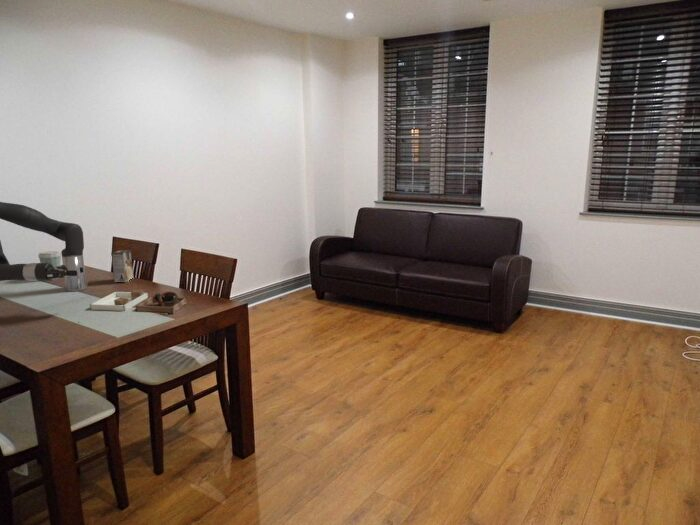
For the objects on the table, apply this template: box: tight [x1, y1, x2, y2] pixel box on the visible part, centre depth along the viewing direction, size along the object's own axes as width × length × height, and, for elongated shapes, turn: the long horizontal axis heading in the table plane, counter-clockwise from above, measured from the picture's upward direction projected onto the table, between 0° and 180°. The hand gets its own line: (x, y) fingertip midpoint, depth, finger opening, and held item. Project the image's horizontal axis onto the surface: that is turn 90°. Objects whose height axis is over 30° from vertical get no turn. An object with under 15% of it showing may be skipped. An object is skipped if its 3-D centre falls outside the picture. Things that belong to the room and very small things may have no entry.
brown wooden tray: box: [135, 296, 188, 314], centre depth 224 cm, size 15×17×3 cm
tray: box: [89, 291, 149, 312], centre depth 228 cm, size 20×16×3 cm
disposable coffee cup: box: [38, 250, 62, 281], centre depth 271 cm, size 11×11×15 cm
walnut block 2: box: [130, 289, 144, 300], centre depth 234 cm, size 4×4×4 cm
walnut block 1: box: [114, 298, 129, 305], centre depth 221 cm, size 4×4×4 cm
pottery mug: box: [153, 290, 180, 307], centre depth 225 cm, size 12×10×8 cm
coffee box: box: [111, 249, 135, 283], centre depth 268 cm, size 9×6×16 cm
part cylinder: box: [65, 255, 82, 291], centre depth 214 cm, size 5×5×14 cm
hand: (79, 271), depth 215 cm, fingers closed on part cylinder, 5 cm apart
